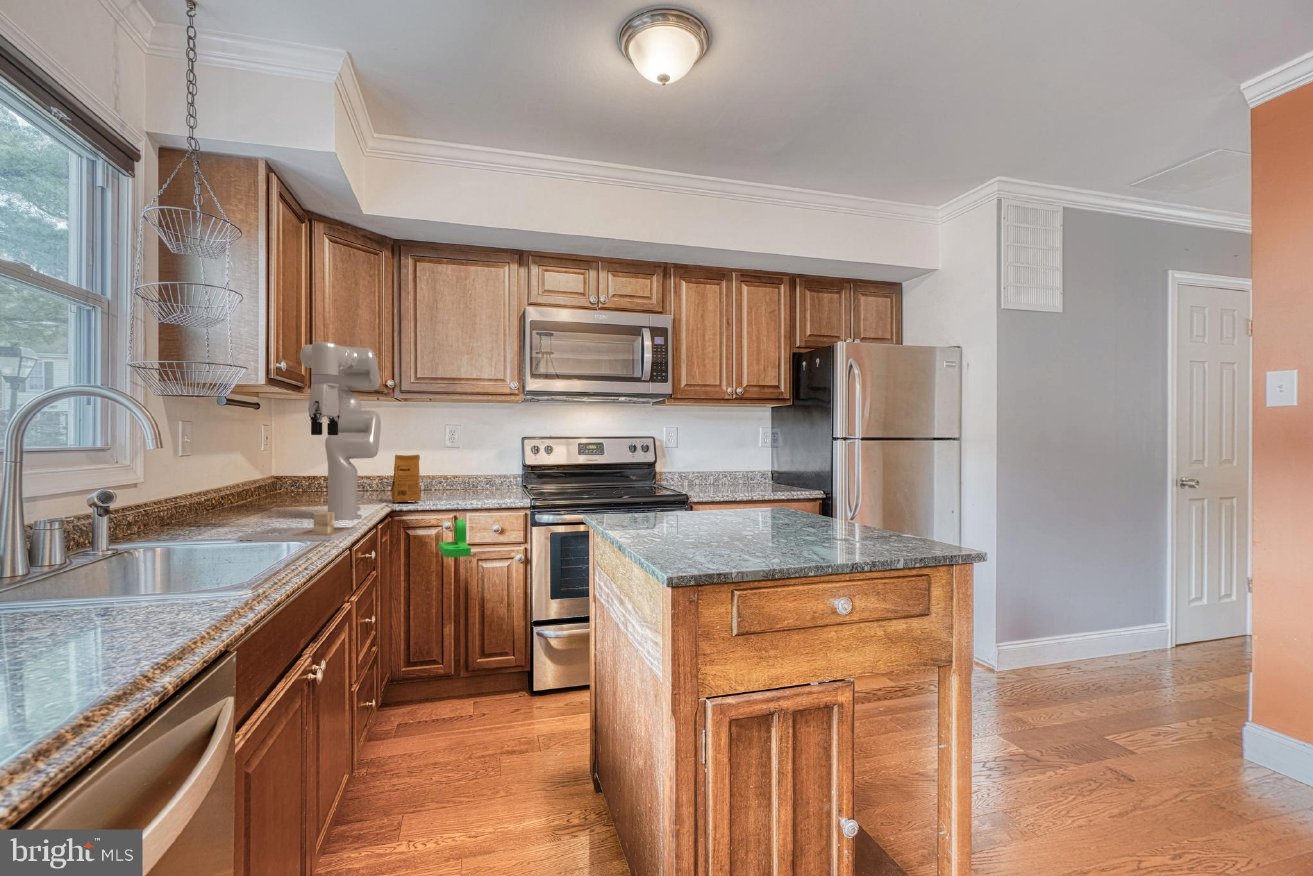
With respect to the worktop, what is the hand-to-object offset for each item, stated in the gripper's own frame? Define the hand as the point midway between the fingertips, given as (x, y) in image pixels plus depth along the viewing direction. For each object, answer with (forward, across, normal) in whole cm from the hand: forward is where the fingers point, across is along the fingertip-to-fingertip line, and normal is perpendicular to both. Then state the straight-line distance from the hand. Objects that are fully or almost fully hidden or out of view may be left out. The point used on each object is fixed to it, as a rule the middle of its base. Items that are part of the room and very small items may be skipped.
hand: (325, 435), depth 190 cm
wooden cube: (+30, +12, +6) cm, 33 cm away
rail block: (+30, +12, -1) cm, 33 cm away
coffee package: (+31, -85, -7) cm, 91 cm away
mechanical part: (+31, +39, +52) cm, 72 cm away
